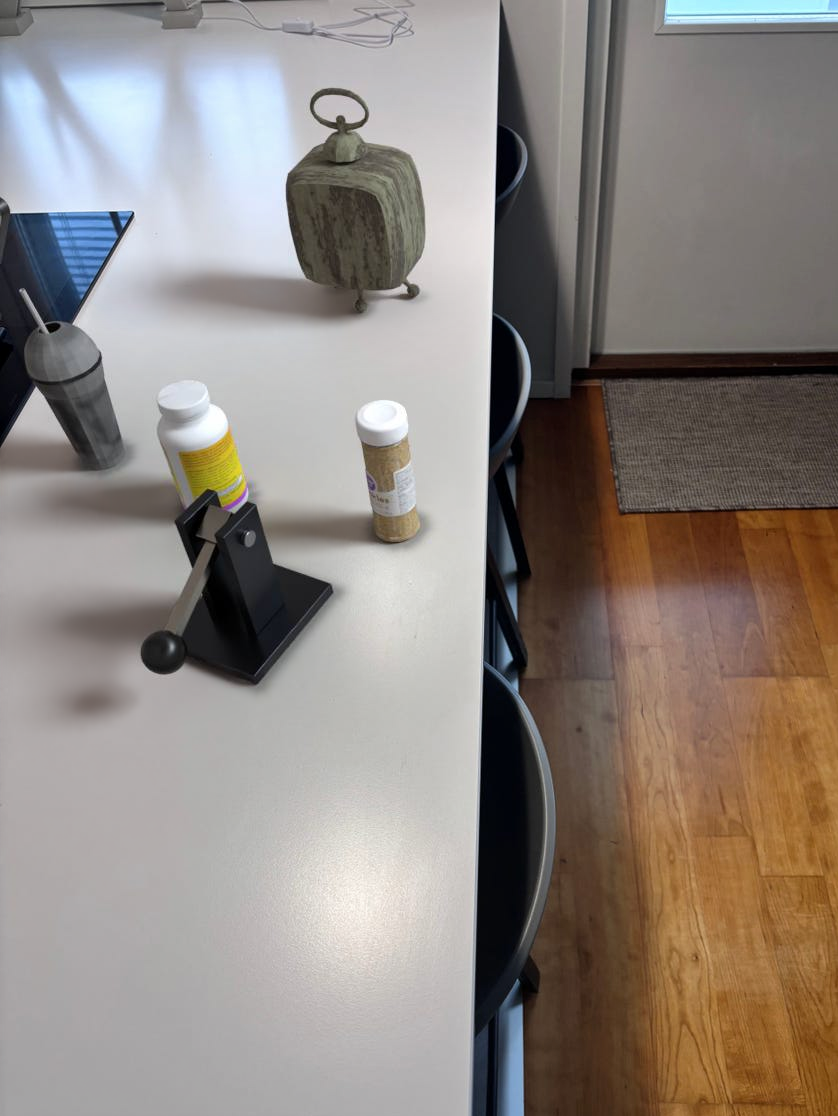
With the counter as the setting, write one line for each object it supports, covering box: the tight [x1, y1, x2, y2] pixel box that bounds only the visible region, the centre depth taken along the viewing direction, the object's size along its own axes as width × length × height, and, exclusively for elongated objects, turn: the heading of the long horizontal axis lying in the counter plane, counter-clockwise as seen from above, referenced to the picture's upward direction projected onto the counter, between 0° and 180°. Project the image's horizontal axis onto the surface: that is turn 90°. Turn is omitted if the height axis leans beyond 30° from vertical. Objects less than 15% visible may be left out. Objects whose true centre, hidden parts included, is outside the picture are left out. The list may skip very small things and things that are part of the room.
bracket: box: [174, 489, 334, 685], centre depth 84 cm, size 12×10×13 cm
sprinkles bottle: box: [354, 399, 421, 543], centre depth 91 cm, size 5×5×13 cm
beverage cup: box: [18, 288, 126, 471], centre depth 98 cm, size 7×7×20 cm
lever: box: [140, 505, 235, 676], centre depth 79 cm, size 14×4×4 cm, turn 154°
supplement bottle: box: [155, 379, 249, 514], centre depth 95 cm, size 7×7×13 cm
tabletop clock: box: [285, 87, 427, 313], centre depth 115 cm, size 14×9×25 cm, turn 72°
